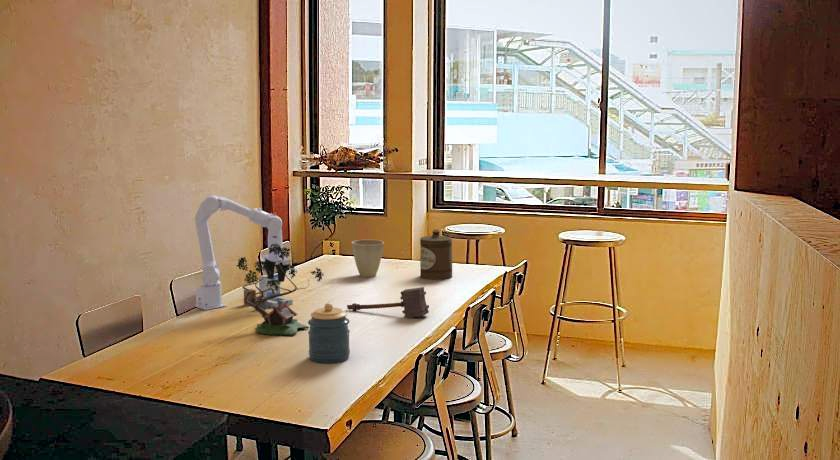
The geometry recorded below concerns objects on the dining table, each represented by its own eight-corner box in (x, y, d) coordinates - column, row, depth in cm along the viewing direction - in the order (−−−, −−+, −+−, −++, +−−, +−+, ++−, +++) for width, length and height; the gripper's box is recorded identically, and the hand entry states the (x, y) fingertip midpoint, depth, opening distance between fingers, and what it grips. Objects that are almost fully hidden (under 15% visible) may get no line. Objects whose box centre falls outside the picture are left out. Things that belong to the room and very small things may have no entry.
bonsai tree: (221, 337, 293) (218, 246, 289) (259, 320, 316) (256, 236, 311) (312, 347, 281) (310, 252, 276) (344, 329, 304) (343, 241, 299)
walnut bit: (248, 306, 339) (248, 291, 338) (244, 304, 341) (243, 290, 340) (255, 304, 341) (255, 290, 340) (251, 303, 343) (250, 288, 343)
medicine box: (266, 297, 354) (265, 277, 353) (259, 296, 357) (258, 275, 355) (280, 294, 360) (279, 274, 359) (273, 292, 363) (272, 272, 362)
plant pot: (347, 277, 394) (346, 243, 391) (358, 271, 408) (358, 238, 405) (377, 279, 389) (377, 245, 387) (388, 273, 403) (388, 240, 401)
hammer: (424, 316, 317) (419, 289, 316) (346, 324, 329) (341, 299, 329) (430, 312, 323) (425, 286, 322) (354, 321, 336) (349, 296, 335)
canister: (329, 349, 279) (328, 296, 276) (358, 356, 271) (357, 302, 268) (300, 358, 269) (298, 303, 266) (329, 366, 261) (328, 310, 258)
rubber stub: (261, 310, 332) (261, 300, 331) (256, 308, 334) (256, 298, 334) (269, 309, 334) (268, 299, 334) (264, 307, 337) (264, 297, 336)
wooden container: (415, 275, 400) (415, 228, 397) (443, 272, 406) (443, 226, 403) (428, 281, 387) (428, 233, 384) (457, 278, 393) (458, 230, 390)
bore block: (273, 308, 335) (273, 303, 335) (260, 304, 342) (260, 299, 341) (292, 304, 341) (292, 299, 341) (279, 300, 348) (279, 296, 347)
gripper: (294, 247, 335) (294, 281, 337) (273, 243, 346) (274, 276, 348) (279, 249, 331) (279, 284, 333) (258, 245, 341) (259, 278, 343)
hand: (276, 280), depth 340 cm, fingers open, 7 cm apart
